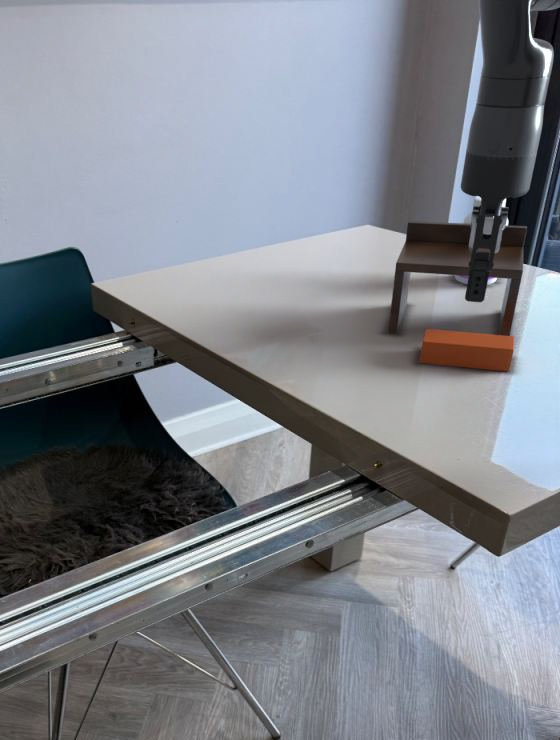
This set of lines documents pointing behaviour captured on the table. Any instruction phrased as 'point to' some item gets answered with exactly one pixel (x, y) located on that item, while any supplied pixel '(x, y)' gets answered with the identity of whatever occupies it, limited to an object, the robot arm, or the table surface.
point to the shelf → (455, 263)
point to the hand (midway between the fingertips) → (475, 289)
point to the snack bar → (467, 350)
